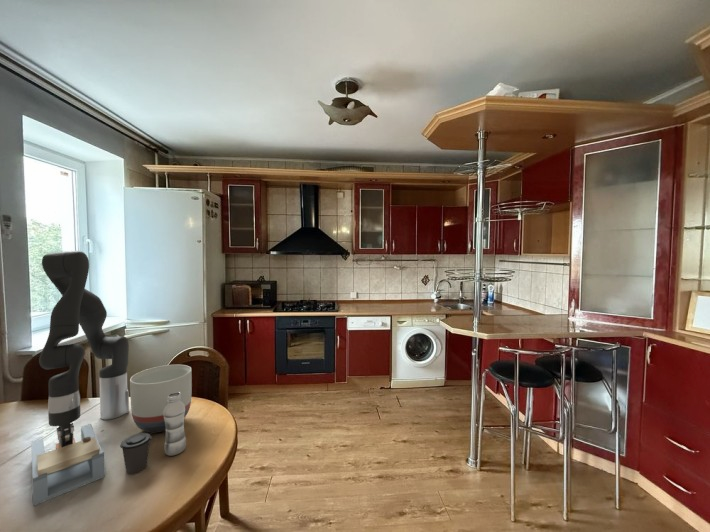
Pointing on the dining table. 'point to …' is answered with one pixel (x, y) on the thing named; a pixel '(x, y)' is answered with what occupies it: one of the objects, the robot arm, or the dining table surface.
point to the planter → (158, 394)
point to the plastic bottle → (174, 425)
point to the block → (60, 445)
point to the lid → (67, 456)
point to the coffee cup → (136, 452)
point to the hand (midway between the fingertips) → (66, 457)
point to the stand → (65, 471)
